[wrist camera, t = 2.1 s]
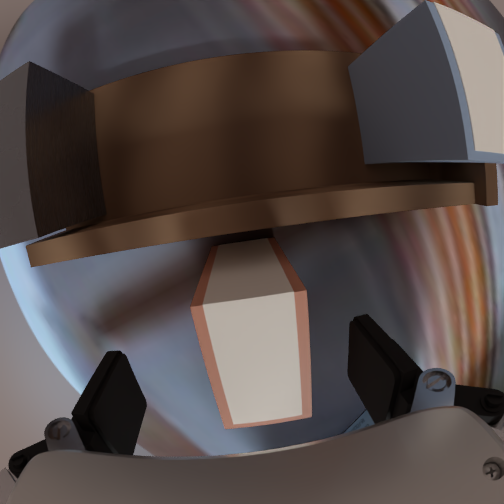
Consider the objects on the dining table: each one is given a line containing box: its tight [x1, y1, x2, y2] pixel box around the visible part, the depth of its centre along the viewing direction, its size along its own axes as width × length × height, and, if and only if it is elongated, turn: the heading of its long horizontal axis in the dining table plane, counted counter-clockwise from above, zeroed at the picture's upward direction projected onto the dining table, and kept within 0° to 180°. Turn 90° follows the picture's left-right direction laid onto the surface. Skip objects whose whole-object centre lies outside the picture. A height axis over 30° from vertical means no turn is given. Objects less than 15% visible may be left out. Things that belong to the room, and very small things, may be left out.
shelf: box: [26, 50, 498, 267], centre depth 13 cm, size 26×10×7 cm, turn 98°
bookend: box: [0, 61, 107, 248], centre depth 11 cm, size 3×8×7 cm, turn 8°
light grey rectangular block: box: [348, 0, 504, 164], centre depth 11 cm, size 5×6×9 cm
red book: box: [190, 237, 312, 429], centre depth 15 cm, size 4×6×9 cm, turn 8°
